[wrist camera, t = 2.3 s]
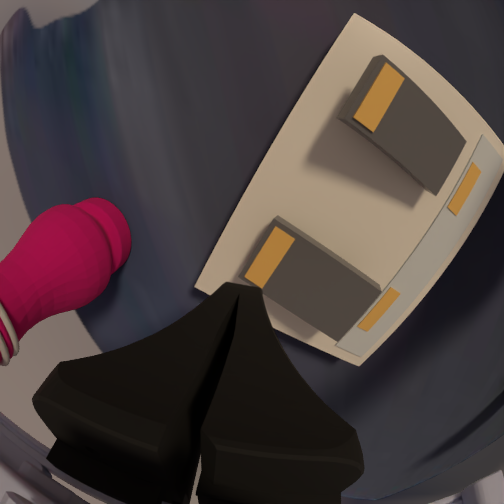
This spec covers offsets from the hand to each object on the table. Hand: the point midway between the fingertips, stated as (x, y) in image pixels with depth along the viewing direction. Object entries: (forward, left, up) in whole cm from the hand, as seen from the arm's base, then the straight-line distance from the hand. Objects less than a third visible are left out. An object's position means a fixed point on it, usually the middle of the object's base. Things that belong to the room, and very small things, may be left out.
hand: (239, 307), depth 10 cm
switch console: (-5, -5, -9) cm, 12 cm away
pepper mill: (+11, +7, -10) cm, 16 cm away
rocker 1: (-3, 0, -5) cm, 6 cm away
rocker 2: (-3, -10, -5) cm, 12 cm away
